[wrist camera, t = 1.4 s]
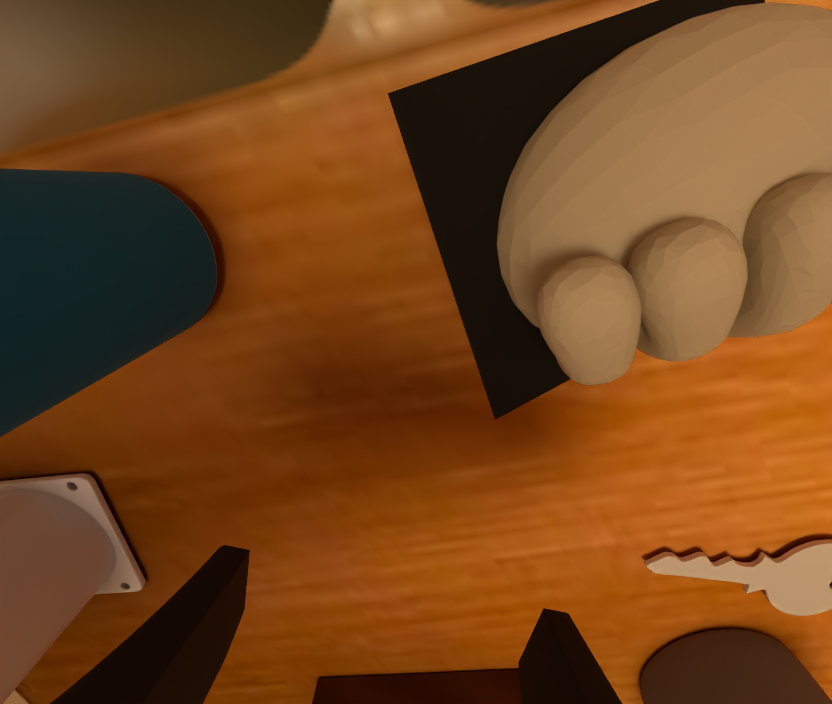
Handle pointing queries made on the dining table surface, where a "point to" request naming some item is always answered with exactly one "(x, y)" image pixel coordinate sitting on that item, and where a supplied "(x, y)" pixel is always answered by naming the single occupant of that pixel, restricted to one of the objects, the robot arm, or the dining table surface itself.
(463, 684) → the shelf
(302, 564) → the dining table surface
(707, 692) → the mug
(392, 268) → the dining table surface
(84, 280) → the beverage can
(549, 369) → the decorative object
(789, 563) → the key
